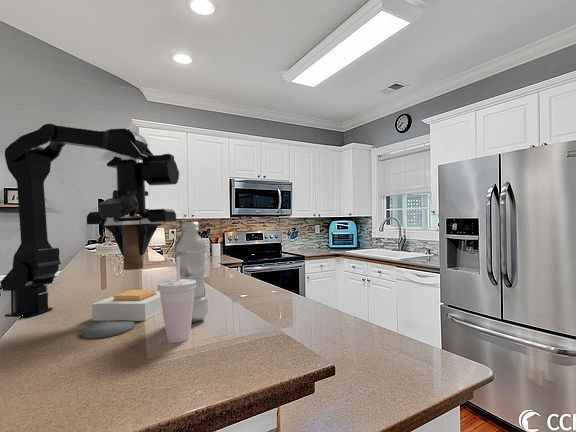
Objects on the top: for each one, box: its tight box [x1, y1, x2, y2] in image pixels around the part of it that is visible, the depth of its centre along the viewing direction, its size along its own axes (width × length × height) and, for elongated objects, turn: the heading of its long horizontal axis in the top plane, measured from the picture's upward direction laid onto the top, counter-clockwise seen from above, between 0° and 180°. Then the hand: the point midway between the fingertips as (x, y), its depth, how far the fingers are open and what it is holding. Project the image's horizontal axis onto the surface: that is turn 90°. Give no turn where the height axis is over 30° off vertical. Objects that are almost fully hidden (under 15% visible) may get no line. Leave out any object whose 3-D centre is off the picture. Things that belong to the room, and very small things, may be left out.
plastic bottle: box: [173, 221, 209, 323], centre depth 67 cm, size 6×7×20 cm
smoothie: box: [157, 257, 196, 344], centre depth 56 cm, size 6×6×14 cm
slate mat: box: [79, 320, 136, 340], centre depth 62 cm, size 9×9×1 cm
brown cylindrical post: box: [122, 223, 144, 271], centre depth 74 cm, size 4×4×10 cm
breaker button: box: [113, 289, 156, 300], centre depth 74 cm, size 6×6×1 cm
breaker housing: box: [91, 290, 163, 322], centre depth 74 cm, size 12×12×4 cm
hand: (133, 255), depth 74 cm, fingers closed on brown cylindrical post, 4 cm apart
